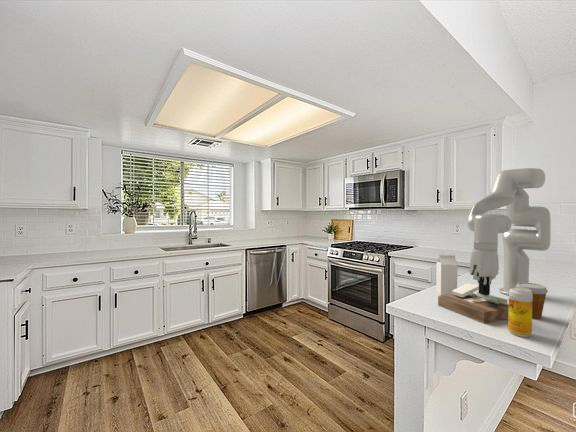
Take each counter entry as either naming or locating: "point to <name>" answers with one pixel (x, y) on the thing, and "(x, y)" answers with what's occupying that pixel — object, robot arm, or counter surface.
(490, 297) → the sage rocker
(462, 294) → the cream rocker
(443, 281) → the milk carton
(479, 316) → the switch unit
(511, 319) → the beer can
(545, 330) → the counter surface
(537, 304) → the disposable coffee cup
